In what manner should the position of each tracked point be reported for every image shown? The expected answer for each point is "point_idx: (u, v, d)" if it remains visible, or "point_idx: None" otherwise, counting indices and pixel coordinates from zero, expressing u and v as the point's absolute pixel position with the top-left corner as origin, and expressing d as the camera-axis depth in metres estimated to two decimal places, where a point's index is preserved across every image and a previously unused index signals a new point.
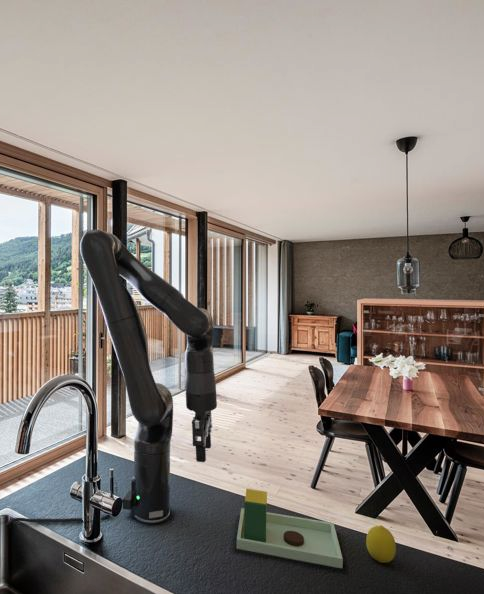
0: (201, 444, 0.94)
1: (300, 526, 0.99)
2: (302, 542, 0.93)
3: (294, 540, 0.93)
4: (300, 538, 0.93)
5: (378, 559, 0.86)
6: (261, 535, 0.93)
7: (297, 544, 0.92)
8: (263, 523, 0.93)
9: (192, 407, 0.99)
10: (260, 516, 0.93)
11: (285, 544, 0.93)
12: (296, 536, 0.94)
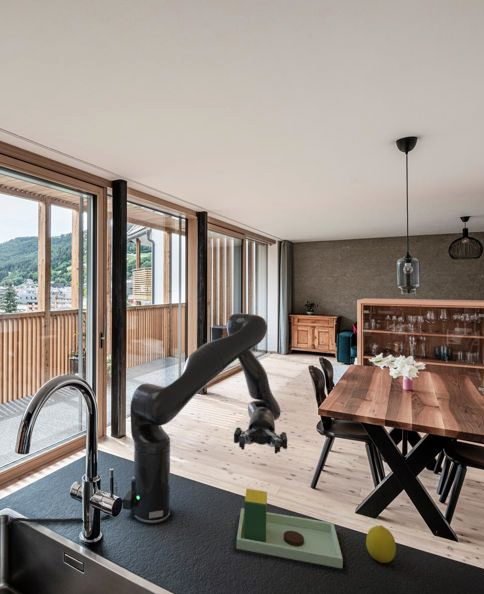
0: None
1: (300, 526, 0.99)
2: (302, 542, 0.93)
3: (294, 540, 0.93)
4: (300, 538, 0.93)
5: (378, 559, 0.86)
6: (261, 535, 0.93)
7: (297, 544, 0.92)
8: (263, 523, 0.93)
9: (273, 427, 1.19)
10: (260, 516, 0.93)
11: (285, 544, 0.93)
12: (296, 536, 0.94)
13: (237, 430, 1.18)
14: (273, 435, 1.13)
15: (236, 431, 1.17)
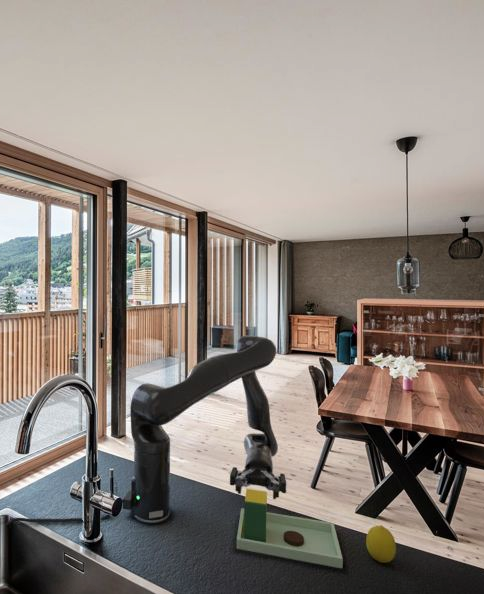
0: None
1: (300, 526, 0.99)
2: (302, 542, 0.93)
3: (294, 540, 0.93)
4: (300, 538, 0.93)
5: (378, 559, 0.86)
6: (261, 535, 0.93)
7: (297, 544, 0.92)
8: (263, 523, 0.93)
9: (271, 467, 1.13)
10: (260, 516, 0.93)
11: (285, 544, 0.93)
12: (296, 536, 0.94)
13: (233, 470, 1.12)
14: (271, 478, 1.07)
15: (233, 471, 1.11)
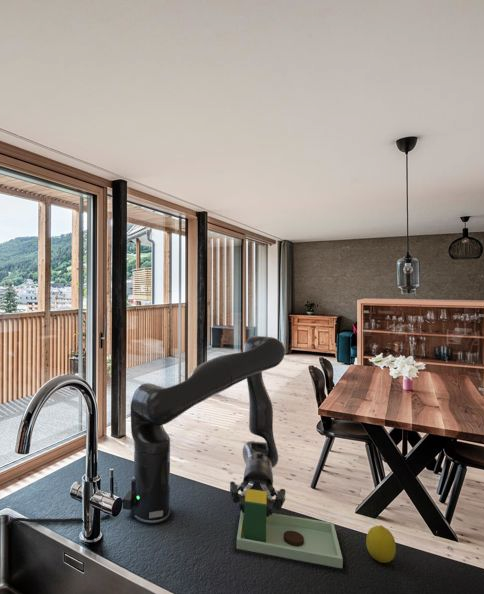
0: (280, 507, 0.97)
1: (300, 526, 0.99)
2: (302, 542, 0.93)
3: (294, 540, 0.93)
4: (300, 538, 0.93)
5: (378, 559, 0.86)
6: (261, 535, 0.93)
7: (297, 544, 0.92)
8: (263, 523, 0.93)
9: (271, 479, 1.06)
10: (260, 516, 0.93)
11: (285, 544, 0.93)
12: (296, 536, 0.94)
13: (232, 485, 1.03)
14: (267, 492, 0.99)
15: (233, 487, 1.02)
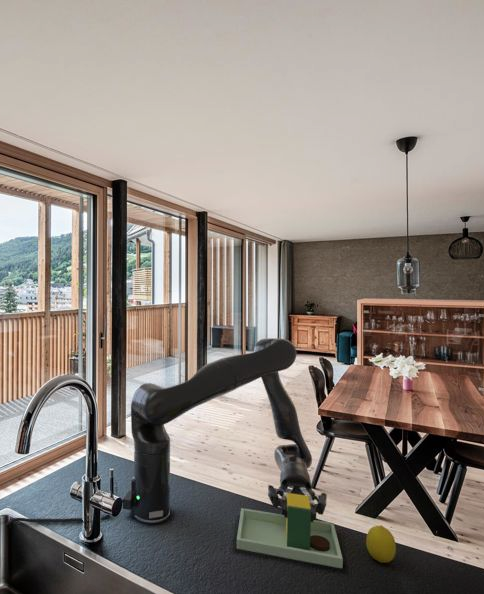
0: (322, 512, 0.94)
1: None
2: (328, 547, 0.91)
3: (321, 545, 0.91)
4: (326, 543, 0.92)
5: (378, 559, 0.86)
6: (305, 541, 0.90)
7: (324, 549, 0.90)
8: (307, 529, 0.90)
9: (310, 483, 1.03)
10: (304, 521, 0.90)
11: (285, 544, 0.93)
12: (322, 541, 0.93)
13: (271, 489, 1.01)
14: None
15: (273, 491, 1.00)
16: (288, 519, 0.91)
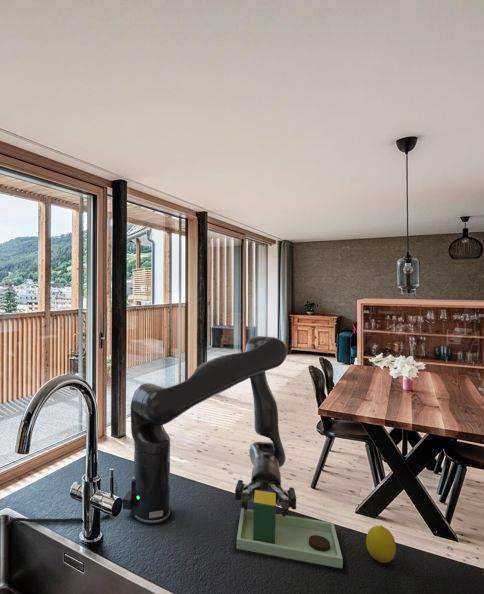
0: None
1: (300, 526, 0.99)
2: (328, 547, 0.91)
3: (321, 545, 0.91)
4: (326, 543, 0.92)
5: (378, 559, 0.86)
6: (270, 537, 0.92)
7: (324, 549, 0.90)
8: (272, 525, 0.92)
9: (279, 480, 1.05)
10: (269, 518, 0.92)
11: (285, 544, 0.93)
12: (322, 541, 0.93)
13: (238, 483, 1.04)
14: (280, 492, 0.99)
15: (238, 485, 1.03)
16: (254, 515, 0.93)
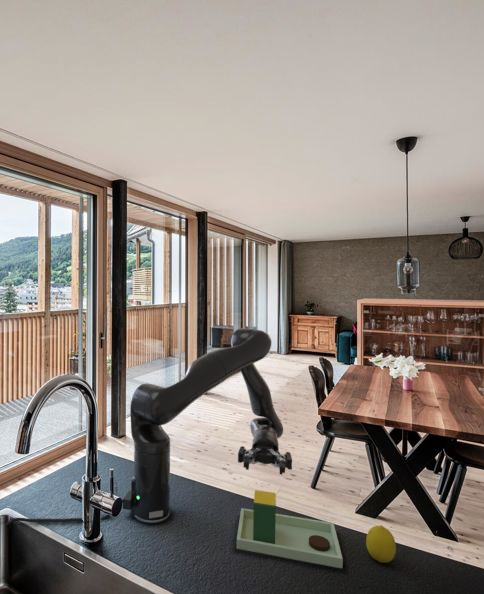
0: (291, 467, 1.10)
1: (300, 526, 0.99)
2: (328, 547, 0.91)
3: (321, 545, 0.91)
4: (326, 543, 0.92)
5: (378, 559, 0.86)
6: (270, 537, 0.92)
7: (324, 549, 0.90)
8: (272, 525, 0.92)
9: (277, 446, 1.18)
10: (269, 518, 0.92)
11: (285, 544, 0.93)
12: (322, 541, 0.93)
13: (241, 449, 1.17)
14: (278, 455, 1.12)
15: (241, 450, 1.16)
16: (254, 515, 0.93)
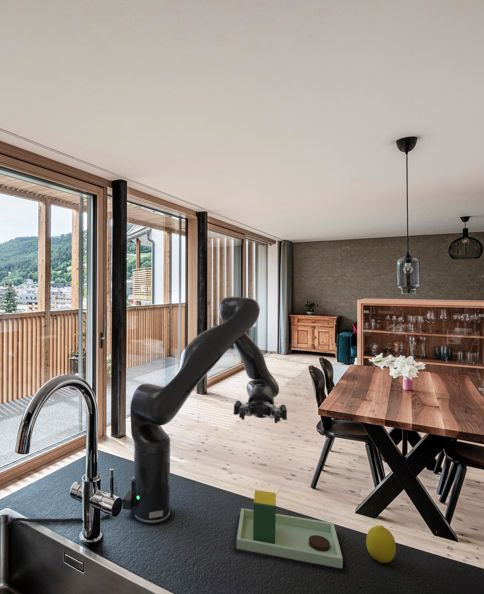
0: (286, 417, 1.12)
1: (300, 526, 0.99)
2: (328, 547, 0.91)
3: (321, 545, 0.91)
4: (326, 543, 0.92)
5: (378, 559, 0.86)
6: (270, 537, 0.92)
7: (324, 549, 0.90)
8: (272, 525, 0.92)
9: (272, 400, 1.20)
10: (269, 518, 0.92)
11: (285, 544, 0.93)
12: (322, 541, 0.93)
13: (237, 402, 1.19)
14: (273, 406, 1.14)
15: (236, 403, 1.18)
16: (254, 515, 0.93)
